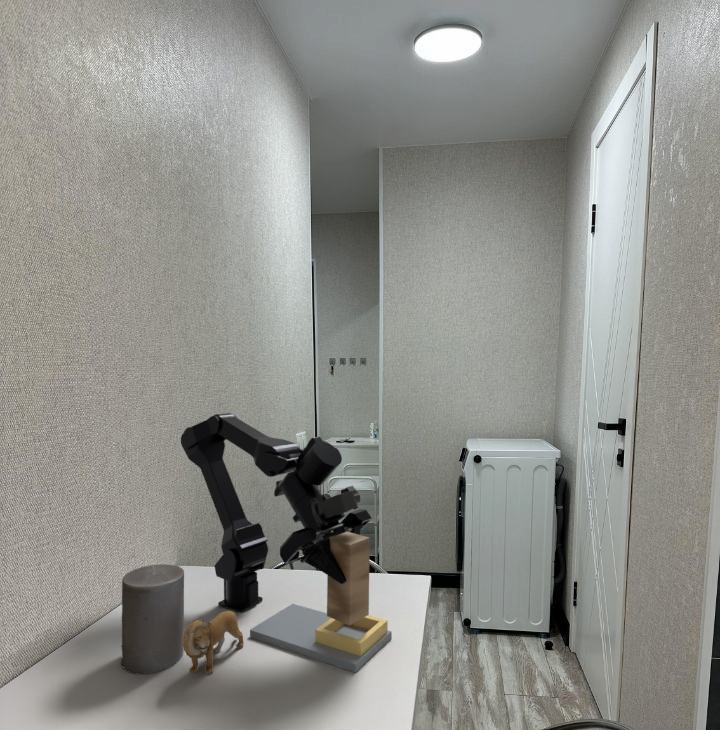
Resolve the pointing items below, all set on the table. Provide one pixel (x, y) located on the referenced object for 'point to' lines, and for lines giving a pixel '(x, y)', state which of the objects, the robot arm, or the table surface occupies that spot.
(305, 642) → the base board
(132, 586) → the pillar candle
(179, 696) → the table surface
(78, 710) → the table surface
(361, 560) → the walnut column
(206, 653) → the lion figurine
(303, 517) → the robot arm
